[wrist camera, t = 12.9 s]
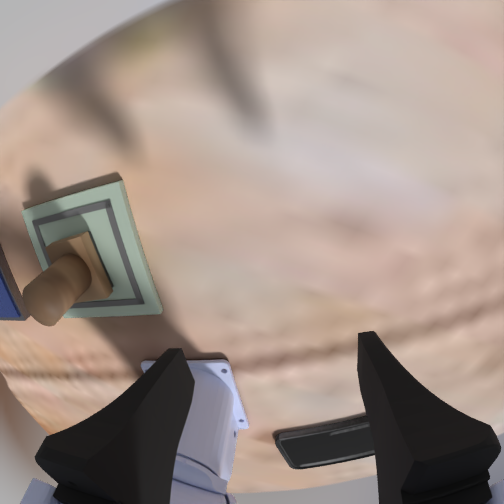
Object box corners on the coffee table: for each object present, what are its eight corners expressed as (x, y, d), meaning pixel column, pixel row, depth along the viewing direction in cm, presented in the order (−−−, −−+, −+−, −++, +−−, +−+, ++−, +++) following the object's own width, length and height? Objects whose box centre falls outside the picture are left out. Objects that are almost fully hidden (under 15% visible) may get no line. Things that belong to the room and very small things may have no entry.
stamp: (116, 287, 23) (76, 336, 17) (80, 293, 23) (40, 338, 18) (91, 228, 21) (40, 266, 15) (56, 239, 21) (6, 276, 16)
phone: (418, 442, 28) (292, 470, 31) (416, 435, 29) (292, 463, 32) (421, 405, 25) (272, 439, 28) (418, 397, 26) (272, 431, 29)
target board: (163, 309, 24) (160, 314, 23) (67, 314, 25) (63, 318, 25) (122, 179, 20) (117, 182, 19) (25, 208, 21) (20, 211, 21)
